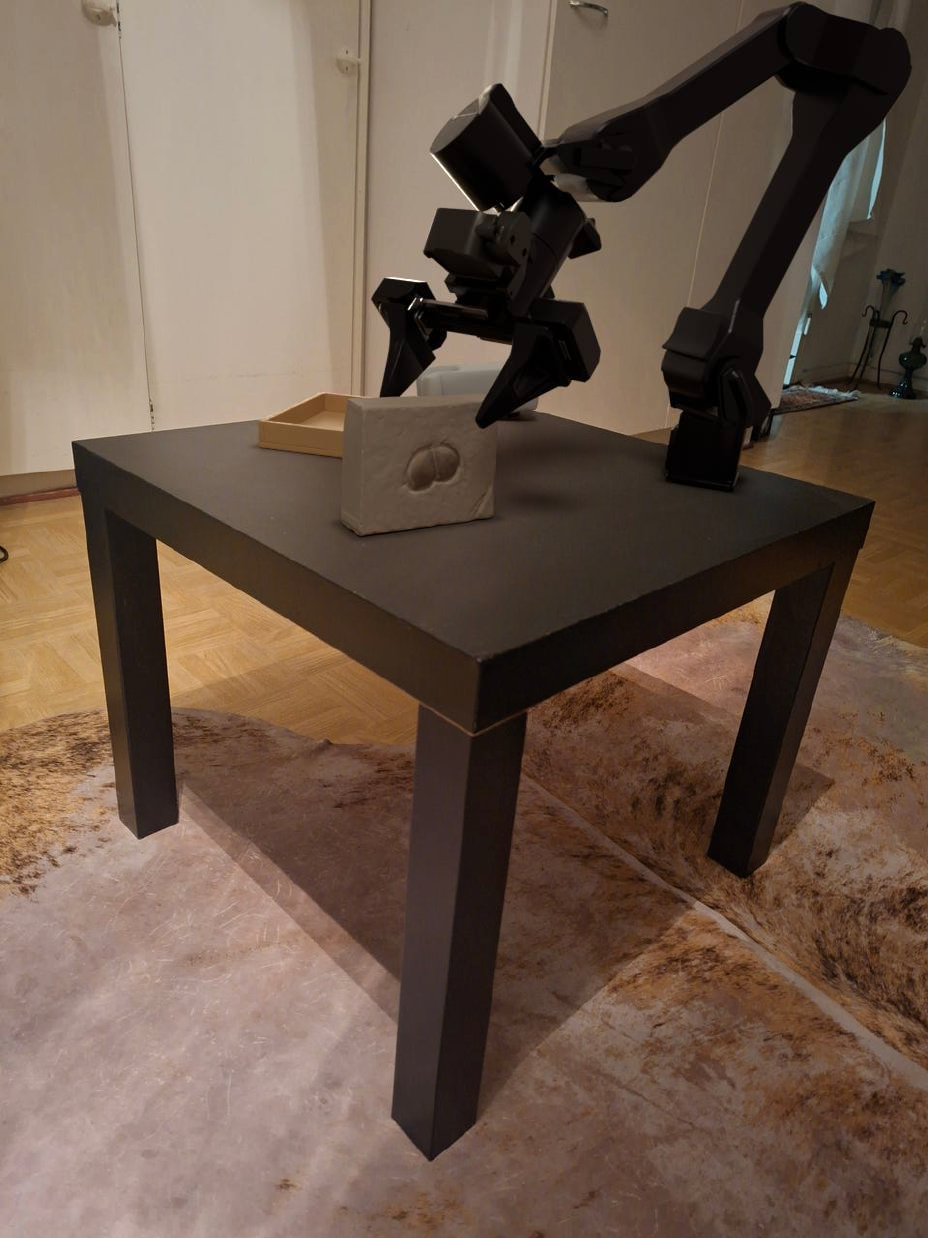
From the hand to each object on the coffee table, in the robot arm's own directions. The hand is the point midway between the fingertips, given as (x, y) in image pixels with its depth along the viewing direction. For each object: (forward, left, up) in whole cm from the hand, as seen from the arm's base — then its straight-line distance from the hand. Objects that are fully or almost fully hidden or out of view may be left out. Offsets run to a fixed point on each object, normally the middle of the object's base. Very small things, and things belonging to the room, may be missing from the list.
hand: (429, 413), depth 63 cm
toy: (+11, -39, -8) cm, 41 cm away
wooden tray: (+15, -21, -8) cm, 27 cm away
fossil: (0, +1, -8) cm, 9 cm away
